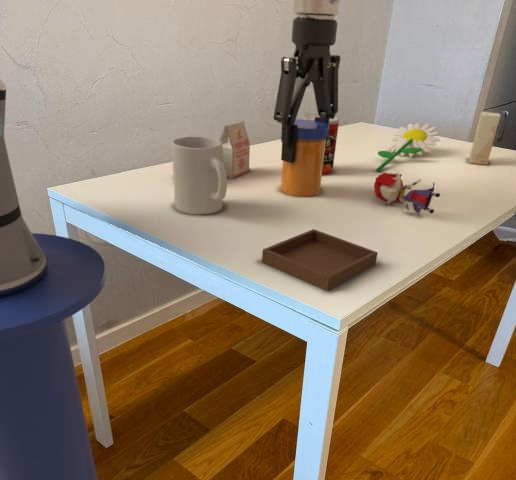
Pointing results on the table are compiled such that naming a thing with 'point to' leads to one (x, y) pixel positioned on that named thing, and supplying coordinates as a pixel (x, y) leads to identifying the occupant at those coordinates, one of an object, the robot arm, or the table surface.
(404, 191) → the figurine
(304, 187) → the honey jar
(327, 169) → the canned food
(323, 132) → the jar lid
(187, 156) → the mug
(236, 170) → the gable top carton
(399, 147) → the decorative flower
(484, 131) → the box
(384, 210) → the table surface
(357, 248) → the tray
